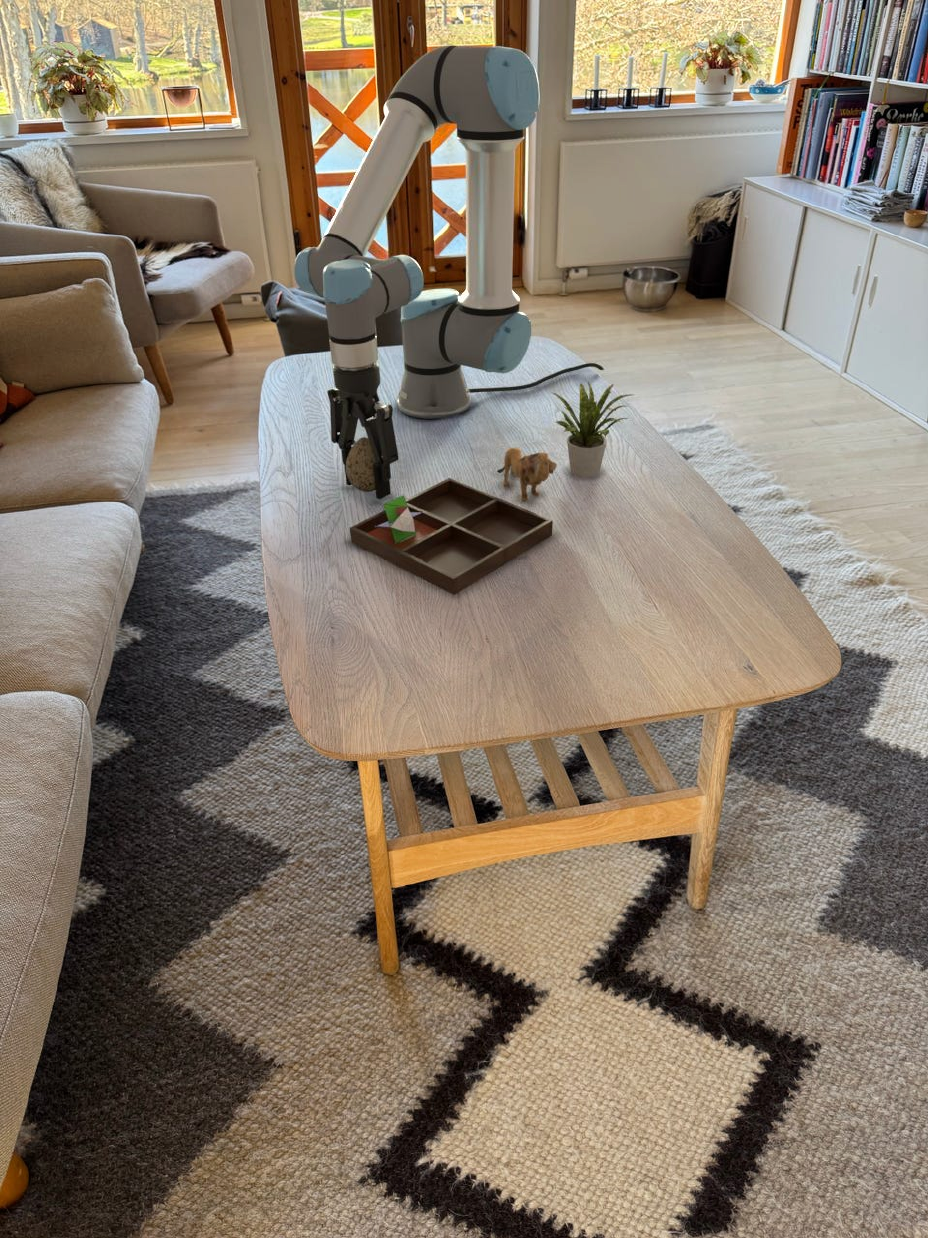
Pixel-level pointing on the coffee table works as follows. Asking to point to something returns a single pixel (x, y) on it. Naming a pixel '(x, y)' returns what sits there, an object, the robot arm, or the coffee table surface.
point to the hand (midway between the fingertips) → (368, 488)
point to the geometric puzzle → (399, 519)
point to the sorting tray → (455, 535)
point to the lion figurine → (527, 469)
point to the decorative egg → (361, 466)
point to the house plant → (588, 432)
